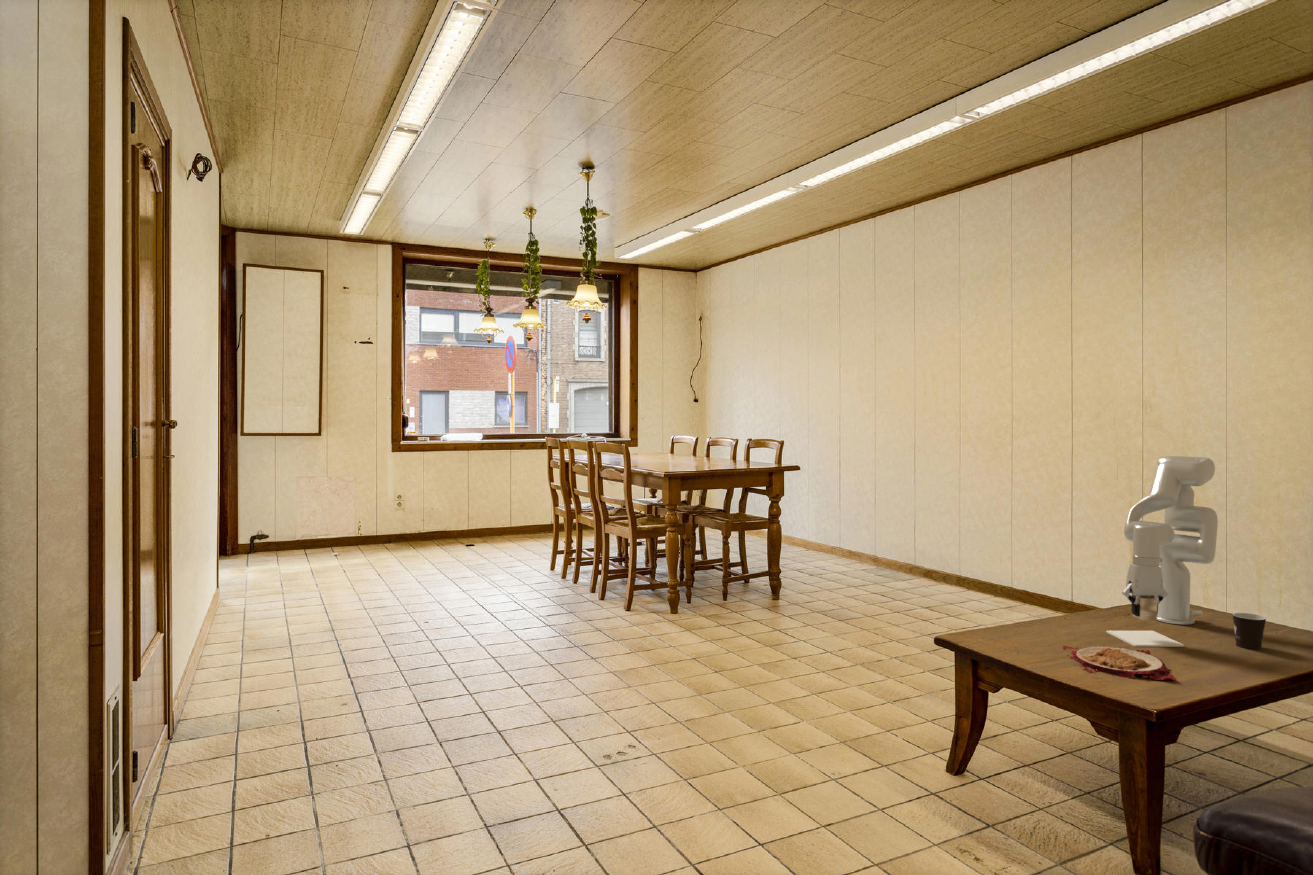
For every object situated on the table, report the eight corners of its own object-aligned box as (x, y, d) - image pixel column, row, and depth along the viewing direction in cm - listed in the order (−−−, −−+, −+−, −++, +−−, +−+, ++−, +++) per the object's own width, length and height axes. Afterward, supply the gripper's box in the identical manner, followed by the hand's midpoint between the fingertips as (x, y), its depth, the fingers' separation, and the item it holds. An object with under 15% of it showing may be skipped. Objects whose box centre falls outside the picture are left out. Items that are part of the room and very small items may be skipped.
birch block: (1147, 615, 259) (1147, 595, 259) (1156, 619, 254) (1157, 598, 254) (1132, 615, 260) (1132, 595, 259) (1141, 619, 255) (1142, 598, 254)
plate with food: (1149, 656, 242) (1149, 645, 242) (1177, 683, 217) (1177, 670, 217) (1062, 650, 250) (1062, 639, 250) (1079, 675, 224) (1079, 663, 224)
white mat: (1152, 632, 265) (1152, 630, 265) (1184, 646, 249) (1184, 644, 249) (1106, 632, 266) (1106, 630, 266) (1134, 646, 250) (1134, 644, 250)
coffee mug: (1260, 652, 243) (1260, 621, 243) (1227, 645, 250) (1228, 615, 250) (1272, 645, 250) (1273, 615, 250) (1240, 639, 257) (1241, 609, 257)
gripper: (1164, 559, 260) (1162, 612, 261) (1113, 559, 260) (1112, 612, 261) (1178, 563, 253) (1177, 618, 253) (1126, 563, 253) (1125, 618, 253)
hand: (1144, 614), depth 257 cm, fingers closed on birch block, 5 cm apart
